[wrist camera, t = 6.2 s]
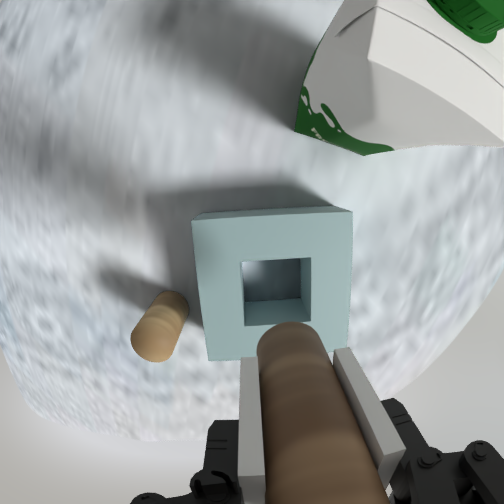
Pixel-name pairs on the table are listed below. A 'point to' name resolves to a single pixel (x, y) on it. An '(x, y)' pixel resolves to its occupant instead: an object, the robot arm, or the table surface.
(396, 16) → the milk carton
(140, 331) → the oak pin short
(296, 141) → the table surface
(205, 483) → the robot arm
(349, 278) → the socket block
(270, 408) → the walnut pin long
